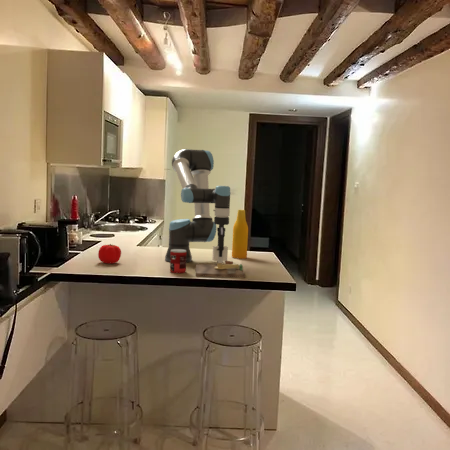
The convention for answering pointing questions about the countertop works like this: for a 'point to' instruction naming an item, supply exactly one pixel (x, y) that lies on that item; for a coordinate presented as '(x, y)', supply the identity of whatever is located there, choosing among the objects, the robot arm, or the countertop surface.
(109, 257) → the tomato
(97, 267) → the countertop surface
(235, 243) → the beer bottle
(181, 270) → the canned food
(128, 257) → the countertop surface
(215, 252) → the tuning peg
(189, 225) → the robot arm
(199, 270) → the gauge plate
